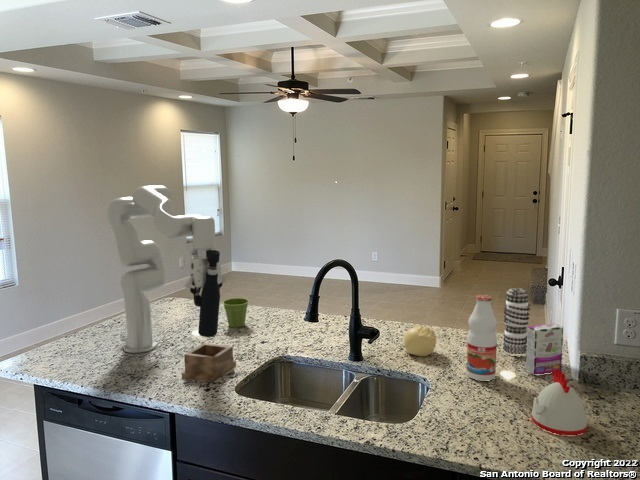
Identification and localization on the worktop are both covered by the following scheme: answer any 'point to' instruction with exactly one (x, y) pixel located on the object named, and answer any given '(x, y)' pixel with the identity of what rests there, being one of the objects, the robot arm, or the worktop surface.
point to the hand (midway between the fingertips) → (206, 303)
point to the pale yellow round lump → (420, 341)
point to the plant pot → (236, 311)
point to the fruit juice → (482, 341)
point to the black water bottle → (210, 298)
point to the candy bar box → (544, 348)
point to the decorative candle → (516, 321)
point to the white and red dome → (559, 408)
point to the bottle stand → (208, 362)
